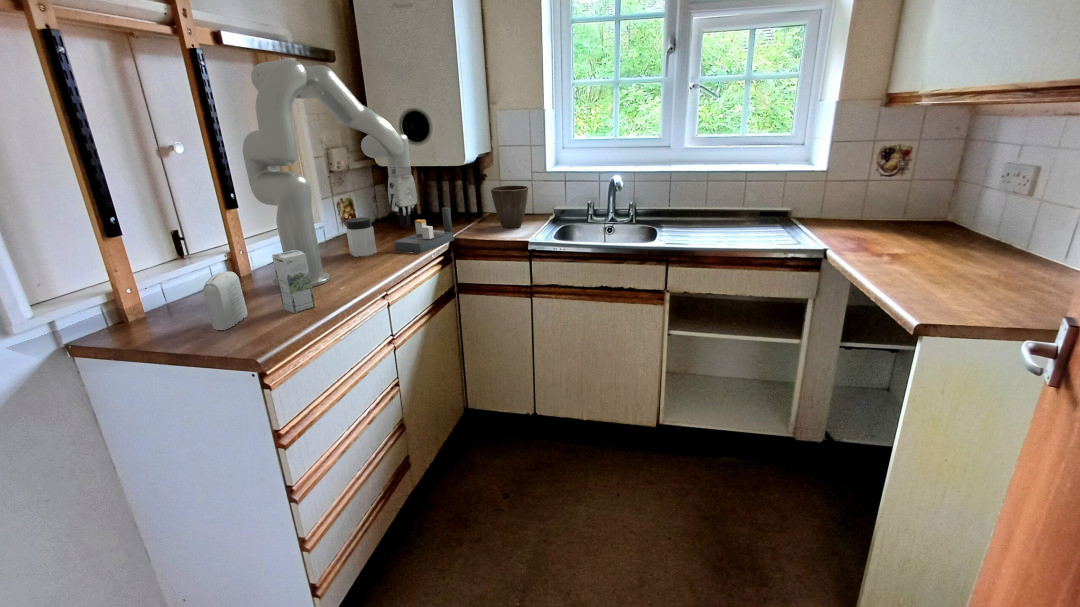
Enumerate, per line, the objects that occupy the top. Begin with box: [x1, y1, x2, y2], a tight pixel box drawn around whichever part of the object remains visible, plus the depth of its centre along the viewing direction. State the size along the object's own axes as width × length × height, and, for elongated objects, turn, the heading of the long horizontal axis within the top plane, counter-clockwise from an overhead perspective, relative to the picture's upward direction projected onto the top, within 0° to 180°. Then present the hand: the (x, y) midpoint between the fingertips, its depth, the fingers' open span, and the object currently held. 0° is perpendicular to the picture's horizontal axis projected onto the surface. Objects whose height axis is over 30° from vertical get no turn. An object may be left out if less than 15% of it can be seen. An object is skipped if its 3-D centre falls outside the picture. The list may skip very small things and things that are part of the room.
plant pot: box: [490, 185, 529, 230], centre depth 211 cm, size 15×15×16 cm
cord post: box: [441, 206, 455, 241], centre depth 195 cm, size 4×4×12 cm
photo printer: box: [202, 270, 248, 330], centre depth 122 cm, size 10×4×12 cm, turn 3°
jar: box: [345, 217, 377, 258], centre depth 180 cm, size 9×8×12 cm
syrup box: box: [272, 250, 316, 314], centre depth 130 cm, size 6×6×14 cm
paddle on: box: [414, 219, 427, 234], centre depth 191 cm, size 2×3×5 cm
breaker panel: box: [393, 229, 454, 254], centre depth 189 cm, size 20×11×4 cm, turn 155°
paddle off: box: [421, 225, 434, 239], centre depth 183 cm, size 2×3×4 cm
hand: (405, 225), depth 183 cm, fingers closed
